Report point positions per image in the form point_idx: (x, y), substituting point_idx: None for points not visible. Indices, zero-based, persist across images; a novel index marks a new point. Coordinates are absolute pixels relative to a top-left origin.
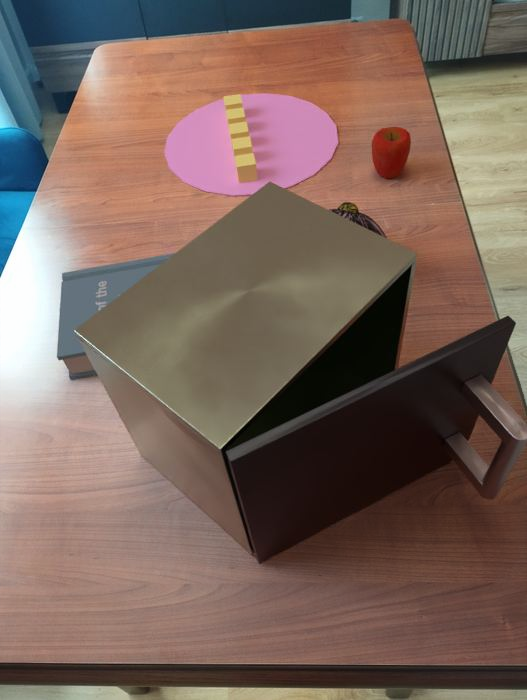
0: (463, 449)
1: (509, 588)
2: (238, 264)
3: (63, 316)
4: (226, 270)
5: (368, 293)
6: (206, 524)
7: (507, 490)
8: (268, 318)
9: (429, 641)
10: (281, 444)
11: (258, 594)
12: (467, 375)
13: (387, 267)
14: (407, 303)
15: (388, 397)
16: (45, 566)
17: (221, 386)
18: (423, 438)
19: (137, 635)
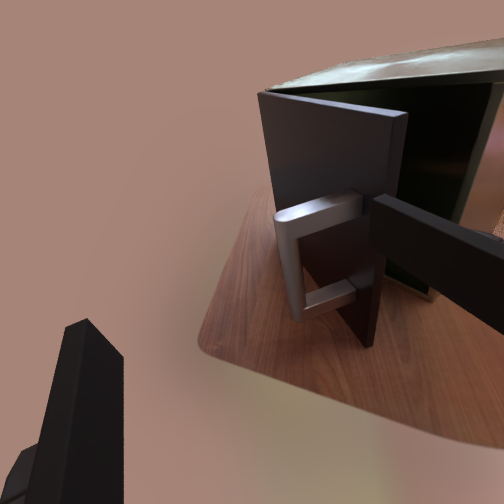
0: (335, 289)
1: (238, 356)
2: (426, 55)
3: None
4: (416, 56)
5: (411, 75)
6: None
7: (327, 382)
8: (366, 71)
9: (221, 301)
10: (268, 104)
11: (265, 236)
12: (350, 177)
13: (464, 69)
14: (474, 163)
15: (301, 122)
16: None
17: (305, 80)
18: (330, 241)
19: (256, 207)
